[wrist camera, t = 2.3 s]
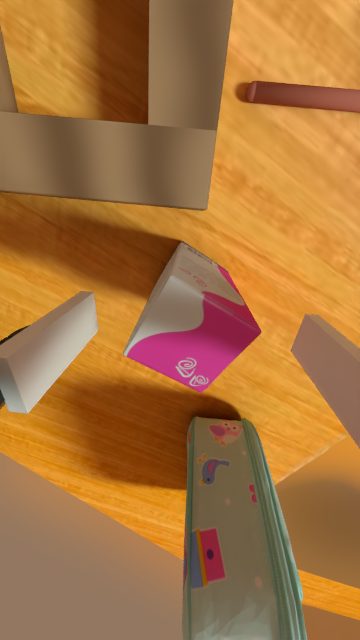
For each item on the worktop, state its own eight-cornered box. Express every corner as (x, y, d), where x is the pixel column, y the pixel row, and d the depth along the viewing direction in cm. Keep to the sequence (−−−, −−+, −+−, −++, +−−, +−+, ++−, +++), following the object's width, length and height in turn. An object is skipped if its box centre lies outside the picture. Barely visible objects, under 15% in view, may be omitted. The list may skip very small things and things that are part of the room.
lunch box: (245, 496, 40) (293, 747, 21) (192, 495, 41) (194, 736, 22) (255, 400, 28) (387, 778, 9) (181, 402, 29) (164, 751, 10)
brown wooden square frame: (-9, 191, 18) (-74, 183, 14) (-149, -288, 10) (-447, -729, 5) (203, 210, 18) (207, 209, 14) (258, -256, 9) (319, -680, 5)
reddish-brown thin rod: (243, 104, 15) (246, 97, 14) (246, 85, 14) (250, 76, 14) (422, 120, 15) (437, 114, 14) (431, 101, 14) (447, 93, 13)
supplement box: (151, 289, 22) (117, 355, 12) (181, 239, 19) (170, 266, 9) (197, 316, 23) (202, 397, 13) (230, 272, 20) (269, 328, 10)
